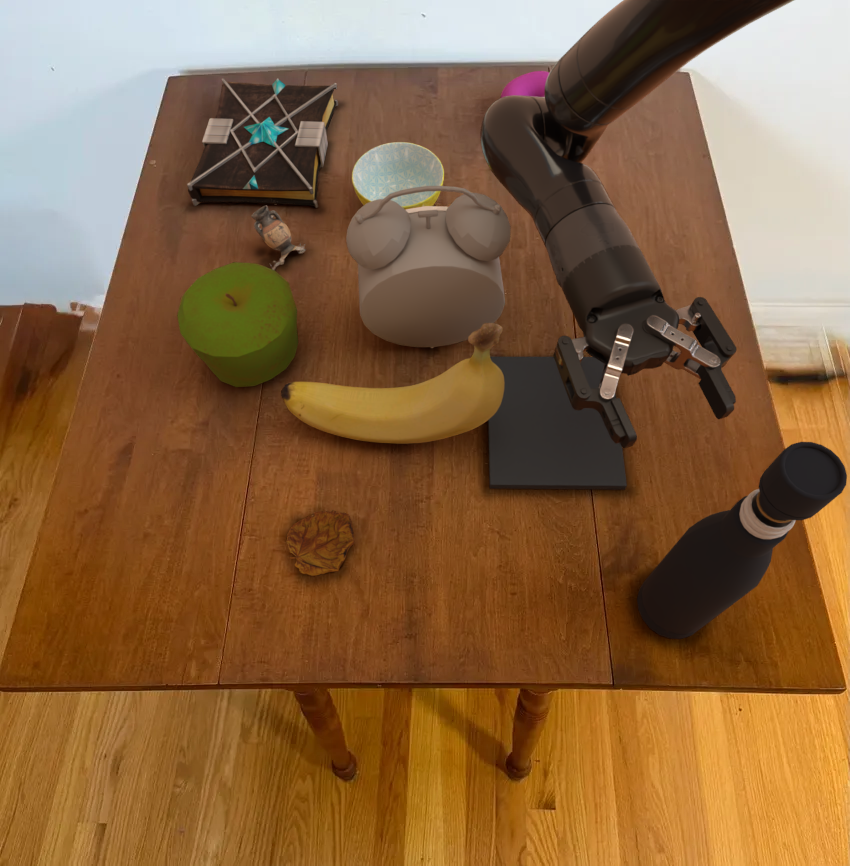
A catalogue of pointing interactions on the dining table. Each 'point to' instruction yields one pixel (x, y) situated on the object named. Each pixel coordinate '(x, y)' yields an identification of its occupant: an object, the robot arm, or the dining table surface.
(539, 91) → the donut
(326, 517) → the leaf
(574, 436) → the mat
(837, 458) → the insulated water bottle
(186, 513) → the dining table surface
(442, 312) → the alarm clock
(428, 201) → the bowl
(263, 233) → the vase
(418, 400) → the banana
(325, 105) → the book
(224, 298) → the apple
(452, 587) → the dining table surface
